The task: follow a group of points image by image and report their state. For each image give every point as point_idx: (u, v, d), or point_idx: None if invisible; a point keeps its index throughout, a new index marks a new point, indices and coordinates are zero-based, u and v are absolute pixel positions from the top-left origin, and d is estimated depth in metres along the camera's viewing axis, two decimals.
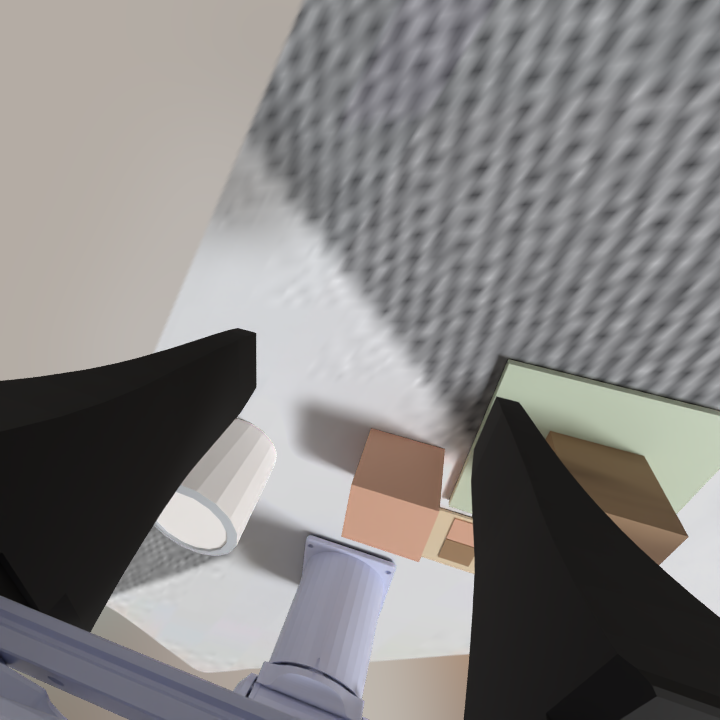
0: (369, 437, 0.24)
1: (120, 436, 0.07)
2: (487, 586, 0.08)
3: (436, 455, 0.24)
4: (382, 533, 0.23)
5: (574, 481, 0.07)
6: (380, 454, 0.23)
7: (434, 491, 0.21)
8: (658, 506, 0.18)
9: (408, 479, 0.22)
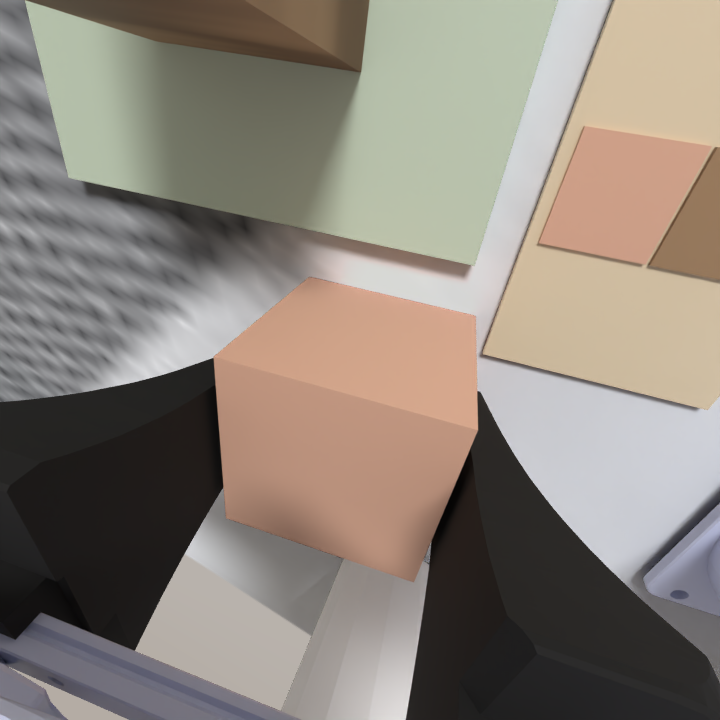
0: None
1: (169, 452, 0.07)
2: (436, 569, 0.08)
3: None
4: (364, 499, 0.08)
5: (518, 465, 0.07)
6: None
7: None
8: None
9: None
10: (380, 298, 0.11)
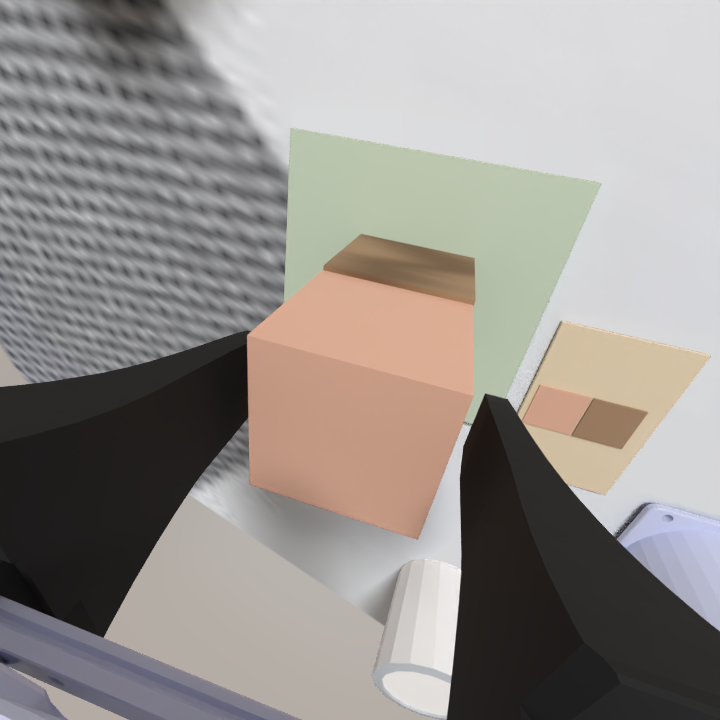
0: None
1: (134, 441, 0.07)
2: (472, 581, 0.08)
3: None
4: (375, 462, 0.09)
5: (557, 476, 0.07)
6: None
7: None
8: None
9: None
10: (387, 289, 0.12)
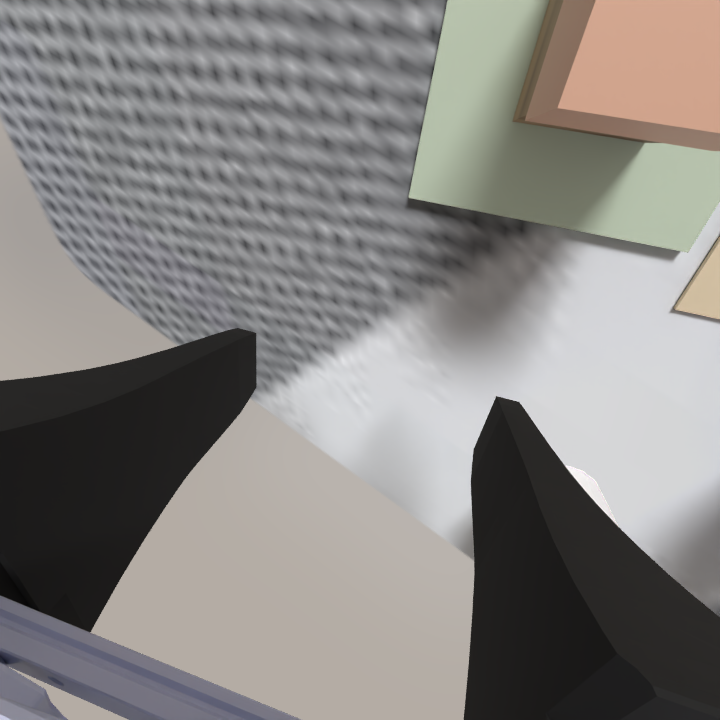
0: (530, 114, 0.10)
1: (120, 436, 0.07)
2: (487, 586, 0.08)
3: None
4: None
5: (574, 481, 0.07)
6: (554, 60, 0.09)
7: None
8: None
9: None
10: None
